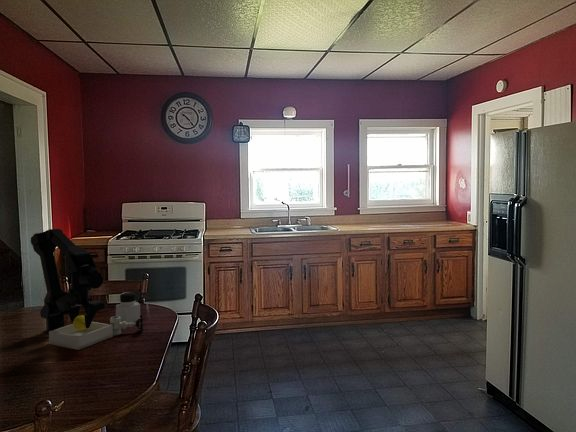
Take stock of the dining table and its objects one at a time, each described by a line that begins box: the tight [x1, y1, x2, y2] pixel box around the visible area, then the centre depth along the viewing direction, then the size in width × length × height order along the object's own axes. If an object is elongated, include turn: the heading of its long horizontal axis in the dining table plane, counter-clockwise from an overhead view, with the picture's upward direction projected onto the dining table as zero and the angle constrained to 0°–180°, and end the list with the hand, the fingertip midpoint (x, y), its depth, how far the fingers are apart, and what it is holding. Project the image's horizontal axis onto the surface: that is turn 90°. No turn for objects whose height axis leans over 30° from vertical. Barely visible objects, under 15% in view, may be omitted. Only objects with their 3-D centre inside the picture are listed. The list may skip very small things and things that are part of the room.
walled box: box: [48, 321, 114, 351], centre depth 160 cm, size 15×15×4 cm
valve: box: [109, 314, 144, 337], centre depth 169 cm, size 7×7×12 cm
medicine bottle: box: [115, 291, 141, 323], centre depth 184 cm, size 7×7×12 cm
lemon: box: [73, 314, 86, 330], centre depth 160 cm, size 7×5×5 cm
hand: (81, 326), depth 160 cm, fingers closed on lemon, 6 cm apart
